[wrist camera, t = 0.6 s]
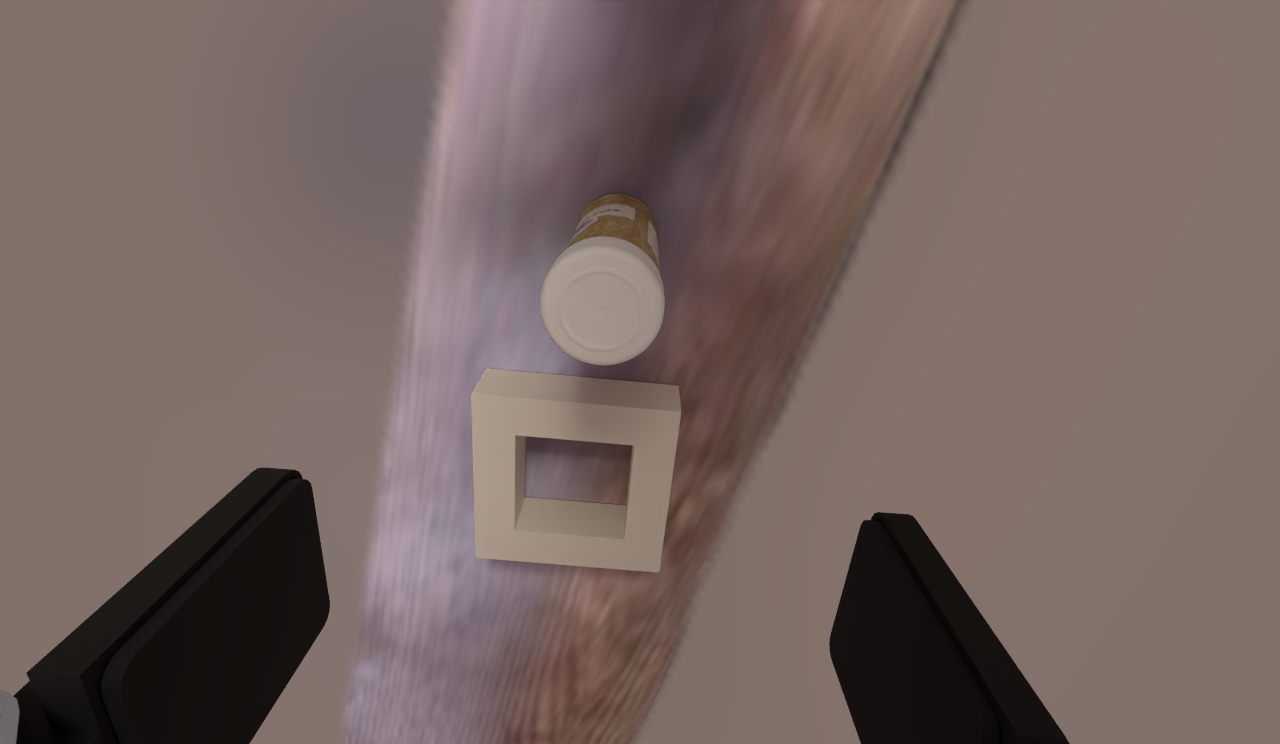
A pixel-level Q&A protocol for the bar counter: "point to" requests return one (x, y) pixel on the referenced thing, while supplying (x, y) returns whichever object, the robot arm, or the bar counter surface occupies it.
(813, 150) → the bar counter surface
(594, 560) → the collar
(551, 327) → the sprinkles bottle
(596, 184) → the bar counter surface
